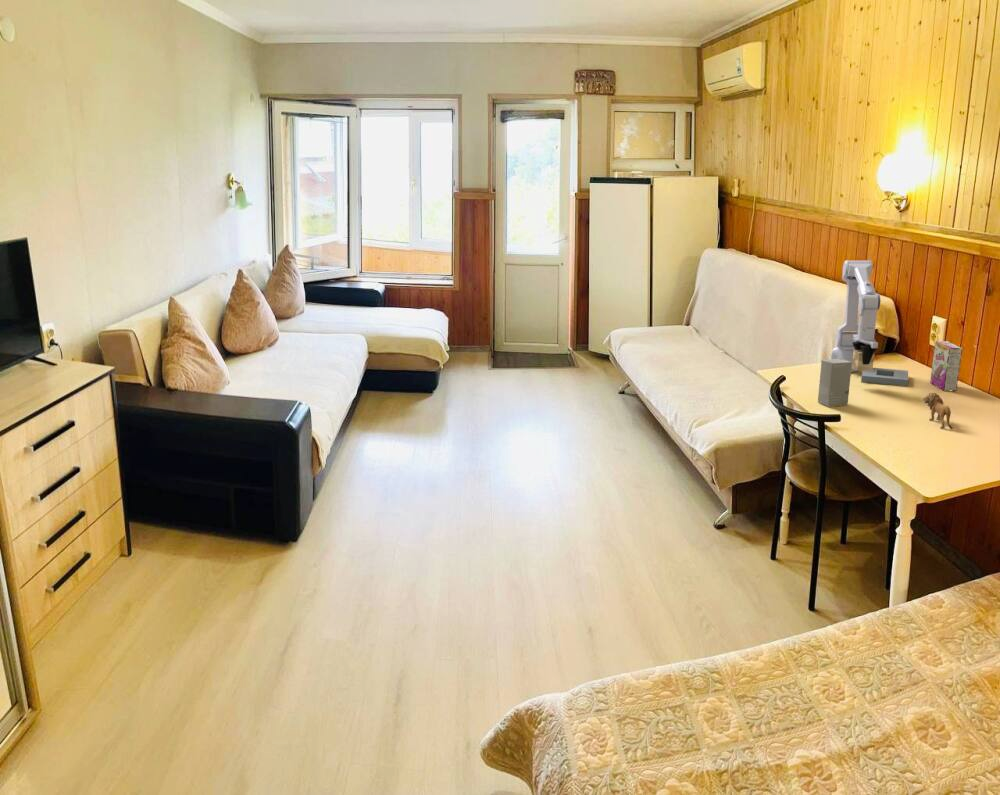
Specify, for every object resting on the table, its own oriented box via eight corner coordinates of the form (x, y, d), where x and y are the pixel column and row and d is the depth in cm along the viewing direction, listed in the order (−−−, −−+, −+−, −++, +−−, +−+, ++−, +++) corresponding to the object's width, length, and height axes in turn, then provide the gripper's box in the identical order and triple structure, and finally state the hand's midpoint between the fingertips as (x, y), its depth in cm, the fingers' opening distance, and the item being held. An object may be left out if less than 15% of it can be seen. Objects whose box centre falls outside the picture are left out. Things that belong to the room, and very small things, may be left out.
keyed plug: (851, 368, 312) (853, 349, 310) (867, 367, 313) (869, 348, 311) (856, 371, 309) (859, 351, 306) (872, 370, 309) (874, 351, 307)
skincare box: (828, 407, 290) (832, 363, 285) (815, 402, 296) (819, 358, 291) (849, 405, 292) (854, 361, 287) (836, 399, 298) (840, 356, 294)
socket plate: (861, 382, 319) (861, 375, 318) (862, 372, 331) (863, 366, 330) (907, 386, 312) (908, 379, 311) (907, 376, 324) (908, 370, 323)
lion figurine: (918, 416, 279) (921, 390, 276) (933, 415, 279) (937, 390, 277) (944, 431, 265) (948, 404, 262) (960, 430, 265) (964, 403, 263)
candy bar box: (928, 383, 316) (934, 340, 311) (942, 382, 315) (948, 340, 311) (943, 391, 305) (949, 348, 300) (957, 391, 305) (963, 347, 300)
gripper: (846, 323, 313) (843, 358, 317) (866, 331, 299) (862, 368, 303) (864, 322, 313) (861, 357, 317) (885, 330, 299) (880, 367, 303)
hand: (862, 362), depth 310 cm, fingers closed on keyed plug, 4 cm apart
